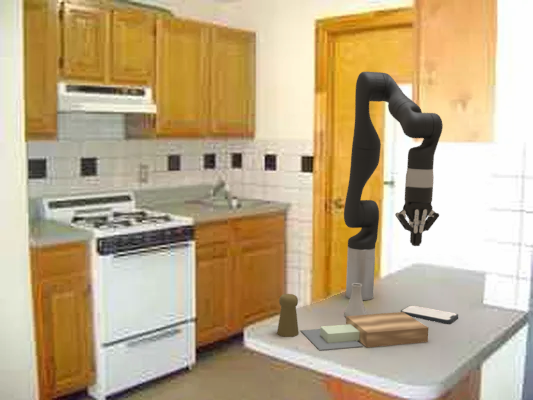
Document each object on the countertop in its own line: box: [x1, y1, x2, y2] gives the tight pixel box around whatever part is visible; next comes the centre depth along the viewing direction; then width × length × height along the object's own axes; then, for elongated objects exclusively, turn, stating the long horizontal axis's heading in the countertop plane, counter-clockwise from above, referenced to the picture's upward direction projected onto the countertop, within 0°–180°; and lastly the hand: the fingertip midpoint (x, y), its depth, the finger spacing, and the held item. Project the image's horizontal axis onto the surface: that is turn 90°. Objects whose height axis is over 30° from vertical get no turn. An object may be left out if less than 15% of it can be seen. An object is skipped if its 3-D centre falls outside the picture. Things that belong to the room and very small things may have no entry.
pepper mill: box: [277, 293, 300, 338], centre depth 164 cm, size 6×6×11 cm
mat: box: [300, 328, 364, 352], centre depth 161 cm, size 15×12×1 cm
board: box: [345, 311, 429, 348], centre depth 164 cm, size 14×18×4 cm
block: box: [319, 324, 360, 343], centre depth 161 cm, size 6×9×2 cm, turn 105°
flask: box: [343, 283, 368, 318], centre depth 181 cm, size 7×7×10 cm
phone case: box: [399, 305, 459, 325], centre depth 183 cm, size 9×2×16 cm
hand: (415, 245), depth 167 cm, fingers closed
